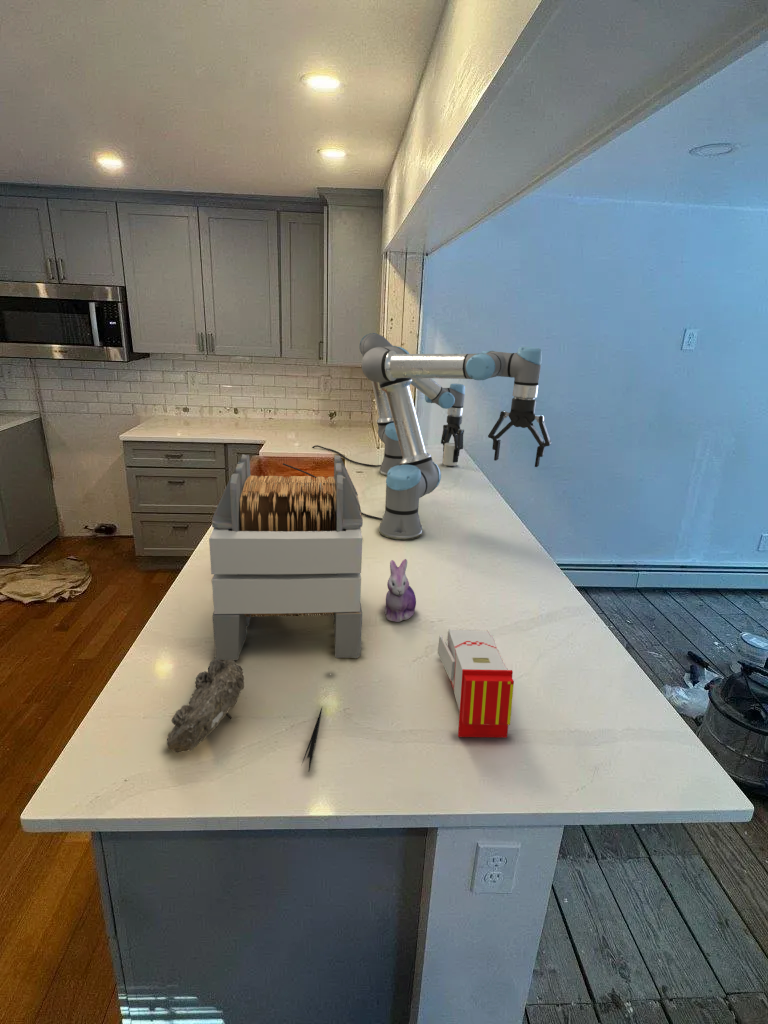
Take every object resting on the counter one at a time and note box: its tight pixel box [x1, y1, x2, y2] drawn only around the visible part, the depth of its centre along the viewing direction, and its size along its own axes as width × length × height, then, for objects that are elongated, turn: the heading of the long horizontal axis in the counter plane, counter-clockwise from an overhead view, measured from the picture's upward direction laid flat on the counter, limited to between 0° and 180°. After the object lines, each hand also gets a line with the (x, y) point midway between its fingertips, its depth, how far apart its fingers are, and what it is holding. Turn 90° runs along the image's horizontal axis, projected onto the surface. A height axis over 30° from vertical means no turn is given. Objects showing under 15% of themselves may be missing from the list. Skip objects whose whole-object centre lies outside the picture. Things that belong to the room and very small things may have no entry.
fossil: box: [166, 659, 245, 754], centre depth 106 cm, size 22×10×15 cm
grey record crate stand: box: [208, 453, 364, 661], centre depth 135 cm, size 34×33×41 cm
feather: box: [301, 673, 332, 771], centre depth 108 cm, size 2×28×2 cm
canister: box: [442, 442, 458, 467], centre depth 289 cm, size 7×7×10 cm
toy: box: [437, 628, 515, 738], centre depth 117 cm, size 12×13×30 cm
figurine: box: [384, 558, 417, 623], centre depth 145 cm, size 9×10×15 cm
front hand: (516, 462), depth 187 cm, fingers open, 13 cm apart
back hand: (450, 460), depth 290 cm, fingers closed on canister, 7 cm apart
